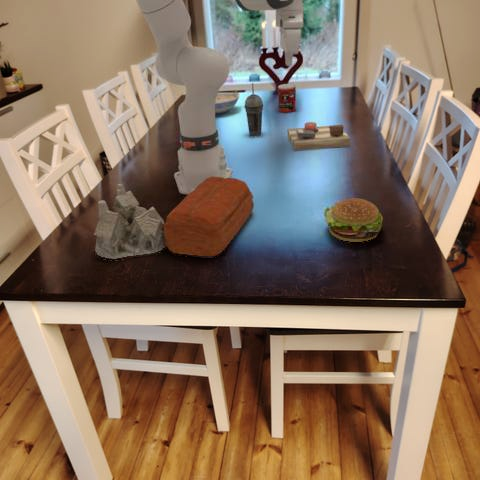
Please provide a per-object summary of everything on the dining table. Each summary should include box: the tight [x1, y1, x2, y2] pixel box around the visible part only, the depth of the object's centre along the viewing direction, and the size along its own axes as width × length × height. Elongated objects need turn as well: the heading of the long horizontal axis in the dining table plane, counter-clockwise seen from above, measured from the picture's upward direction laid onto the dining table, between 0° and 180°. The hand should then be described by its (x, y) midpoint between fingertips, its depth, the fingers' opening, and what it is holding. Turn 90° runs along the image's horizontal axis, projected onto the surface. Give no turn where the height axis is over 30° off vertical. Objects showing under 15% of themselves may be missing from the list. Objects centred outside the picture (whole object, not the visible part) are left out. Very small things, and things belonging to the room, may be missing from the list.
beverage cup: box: [244, 82, 264, 138], centre depth 178 cm, size 7×7×20 cm
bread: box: [164, 176, 255, 256], centre depth 116 cm, size 16×27×11 cm, turn 160°
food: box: [323, 197, 383, 243], centre depth 112 cm, size 14×14×8 cm
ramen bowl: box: [215, 89, 246, 115], centre depth 214 cm, size 25×23×8 cm
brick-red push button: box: [304, 121, 318, 132], centre depth 173 cm, size 4×4×2 cm
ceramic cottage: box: [93, 183, 166, 259], centre depth 111 cm, size 16×16×15 cm
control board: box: [286, 125, 351, 152], centre depth 171 cm, size 16×20×4 cm
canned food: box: [277, 83, 297, 114], centre depth 207 cm, size 8×8×11 cm
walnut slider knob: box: [329, 124, 345, 136], centre depth 166 cm, size 2×4×3 cm, turn 93°
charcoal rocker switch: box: [296, 130, 315, 137], centre depth 166 cm, size 4×6×1 cm, turn 93°
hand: (288, 65), depth 156 cm, fingers closed
